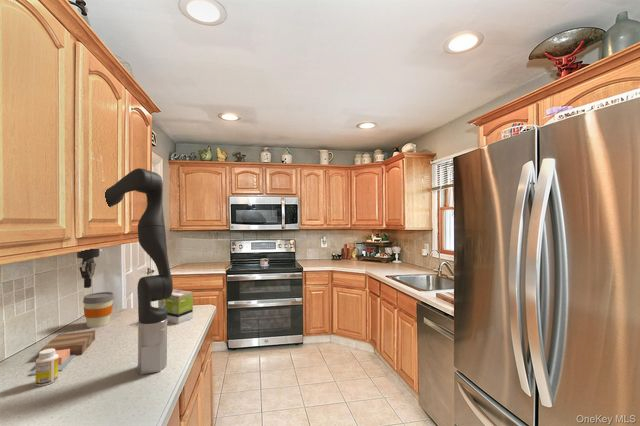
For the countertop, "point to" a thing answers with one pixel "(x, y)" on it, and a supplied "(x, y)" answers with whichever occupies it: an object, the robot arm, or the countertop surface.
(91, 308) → the reusable coffee cup
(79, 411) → the countertop surface
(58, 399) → the countertop surface
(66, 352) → the salmon foam block
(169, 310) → the tea box
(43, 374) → the supplement bottle
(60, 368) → the mat
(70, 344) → the block
